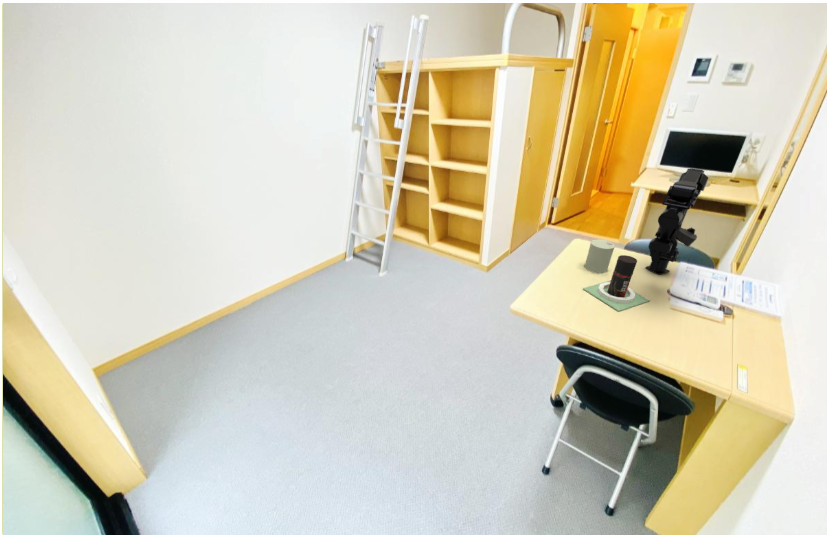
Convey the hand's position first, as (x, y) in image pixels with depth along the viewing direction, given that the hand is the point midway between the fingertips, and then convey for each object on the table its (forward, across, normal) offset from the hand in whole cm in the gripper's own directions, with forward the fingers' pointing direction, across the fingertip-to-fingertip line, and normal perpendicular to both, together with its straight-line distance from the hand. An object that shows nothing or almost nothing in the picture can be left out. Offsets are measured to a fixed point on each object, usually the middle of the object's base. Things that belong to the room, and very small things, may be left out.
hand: (656, 259), depth 127 cm
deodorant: (+13, -12, +7) cm, 19 cm away
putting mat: (+13, -12, +8) cm, 20 cm away
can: (+13, +5, +20) cm, 24 cm away
